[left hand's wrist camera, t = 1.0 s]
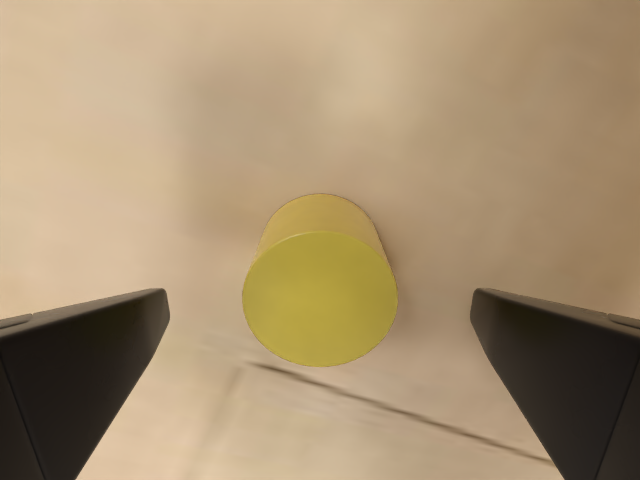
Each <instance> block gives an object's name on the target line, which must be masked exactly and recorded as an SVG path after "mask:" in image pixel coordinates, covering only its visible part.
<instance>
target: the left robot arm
mask: <svg viewBox="0 0 640 480" xmlns="http://www.w3.org/2000/svg"><path fill="white" fill-rule="evenodd" d="M169 320H170V311H169V305H168V299H167V293H166V291H165V290H164V289H162V288H159V289H146V290H141V291H137V292H132V293H127V294H123V295H118V296H113V297H108V298H104V299H99V300H94V301H90V302H85V303H80V304H75V305H71V306H66V307H61V308H57V309H52V310H47V311H43V312H38V313H34V314H33V315H32V314H26V315H21V316H16V317H11V318H7V319H2V320H0V480H76V478H77V476H78V475H79V473H80V472H81V470H82V469H83V467H84V465H85V464H86V462H87V461H88V459H89V457H90V456H91V454H92V453H93V451H94V450H95V448H96V446H97V445H98V443H99V442H100V440H101V438H102V437H103V435H104V434H105V432H106V431H107V429H108V427H109V426H110V424H111V423H112V421H113V420H114V418H115V416H116V415H117V413H118V412H119V410H120V408H121V407H122V405H123V404H124V402H125V401H126V399H127V397H128V396H129V394H130V393H131V391H132V389H133V388H134V386H135V385H136V383H137V382H138V380H139V378H140V377H141V375H142V374H143V372H144V371H145V369H146V367H147V366H148V364H149V362H150V361H151V359H152V357H153V355H154V353H155V352H156V349H157V347H158V345H159V343H160V341H161V339H162V336H163V334H164V332H165V330H166V328H167V326H168V323H169ZM470 320H471V323H472V326H473V328H474V330H475V332H476V334H477V336H478V339H479V341H480V343H481V345H482V347H483V349H484V352H485V353H486V355H487V357H488V359H489V361H490V362H491V364H492V366H493V367H494V369H495V371H496V372H497V374H498V375H499V377H500V378H501V380H502V382H503V383H504V385H505V386H506V388H507V389H508V391H509V393H510V394H511V396H512V397H513V399H514V401H515V402H516V404H517V405H518V407H519V408H520V410H521V412H522V413H523V415H524V416H525V418H526V419H527V421H528V423H529V424H530V426H531V427H532V429H533V431H534V432H535V434H536V435H537V437H538V438H539V440H540V442H541V443H542V445H543V446H544V448H545V450H546V451H547V453H548V454H549V456H550V457H551V459H552V461H553V462H554V464H555V465H556V467H557V469H558V470H559V472H560V473H561V475H562V476H563V478H564V480H640V320H638V319H633V318H629V317H624V316H619V315H614V314H608V315H607V314H606V313H602V312H598V311H593V310H588V309H584V308H579V307H574V306H569V305H565V304H560V303H555V302H551V301H546V300H541V299H536V298H532V297H527V296H522V295H517V294H513V293H508V292H503V291H499V290H494V289H482V288H478V289H476V290H475V291H474V293H473V299H472V305H471V311H470Z"/></svg>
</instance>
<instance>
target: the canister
mask: <svg viewBox="0 0 640 480" xmlns="http://www.w3.org/2000/svg"><path fill="white" fill-rule="evenodd" d="M242 303H243V311H244V314H245V318H246V320H247V323H248V325H249V327H250V329H251V330H252V332H253V334H254V335H255V336H256V338H257V339H258V340H259V341H260V342H261V343H262V344H263V345H264V346H265V347H266V348H267V349H268V350H270V351H271V352H272V353H274V354H276V355H277V356H279V357H281V358H283V359H285V360H287V361H290V362H293V363H296V364H300V365H305V366H313V367H329V366H336V365H340V364H344V363H348V362H350V361H353V360H355V359H357V358H359V357H361V356H363V355H365V354H366V353H368V352H369V351H371V350H372V349H373V348H374V347H376V346H377V345H378V344H379V343H380V342H381V341H382V339H383V338H384V337H385V336H386V334H387V333H388V331H389V330H390V328H391V326H392V324H393V322H394V319H395V316H396V312H397V307H398V290H397V285H396V281H395V278H394V275H393V272H392V270H391V267H390V265H389V262H388V260H387V257H386V254H385V252H384V249H383V247H382V244H381V242H380V239H379V236H378V234H377V231H376V229H375V227H374V225H373V223H372V221H371V220H370V218H369V217H368V216H367V215H366V213H365V212H364V211H363V210H361V209H360V208H359V207H358V206H356V205H355V204H354V203H352V202H350V201H348V200H346V199H344V198H341V197H338V196H334V195H328V194H312V195H306V196H303V197H299V198H297V199H294V200H292V201H290V202H288V203H287V204H285V205H284V206H282V207H281V208H280V209H279V210H278V211H277V212H276V213H275V214H274V215H273V216H272V217H271V219H270V220H269V222H268V224H267V225H266V227H265V230H264V232H263V235H262V237H261V240H260V243H259V245H258V248H257V250H256V253H255V255H254V258H253V261H252V263H251V266H250V268H249V271H248V273H247V276H246V279H245V282H244V287H243V293H242Z"/></svg>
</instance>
